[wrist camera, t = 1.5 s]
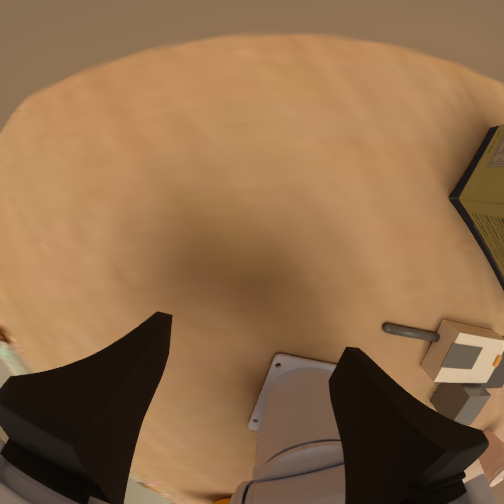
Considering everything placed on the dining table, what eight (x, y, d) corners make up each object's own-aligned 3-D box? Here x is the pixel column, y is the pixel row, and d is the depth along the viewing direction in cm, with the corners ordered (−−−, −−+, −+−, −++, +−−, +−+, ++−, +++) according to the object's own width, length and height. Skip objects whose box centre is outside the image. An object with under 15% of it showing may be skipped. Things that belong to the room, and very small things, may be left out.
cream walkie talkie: (473, 369, 22) (488, 384, 18) (367, 358, 22) (379, 379, 18) (492, 330, 21) (510, 342, 17) (390, 306, 21) (407, 323, 17)
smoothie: (474, 432, 24) (512, 489, 10) (501, 417, 23) (539, 466, 10) (460, 456, 25) (490, 511, 11) (487, 442, 24) (519, 490, 11)
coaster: (500, 386, 22) (501, 387, 22) (474, 387, 22) (475, 388, 22) (524, 340, 21) (525, 341, 20) (501, 336, 21) (502, 337, 20)
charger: (451, 400, 23) (470, 425, 18) (429, 400, 23) (448, 428, 18) (473, 363, 22) (496, 385, 17) (452, 361, 22) (476, 386, 17)
